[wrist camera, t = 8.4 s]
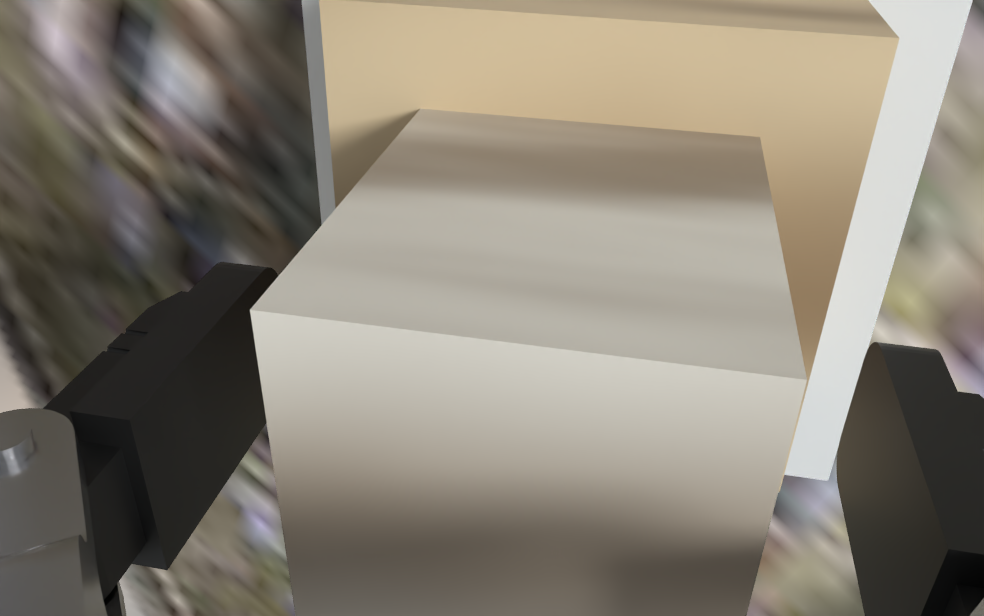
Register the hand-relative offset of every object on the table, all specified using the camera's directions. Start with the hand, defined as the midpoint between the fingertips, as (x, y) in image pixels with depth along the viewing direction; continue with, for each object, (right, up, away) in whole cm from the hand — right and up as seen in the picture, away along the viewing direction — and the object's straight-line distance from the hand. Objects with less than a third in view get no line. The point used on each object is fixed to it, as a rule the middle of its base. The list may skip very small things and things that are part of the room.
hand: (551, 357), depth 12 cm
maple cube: (+1, +1, +2) cm, 3 cm away
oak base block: (+1, +3, +6) cm, 6 cm away
